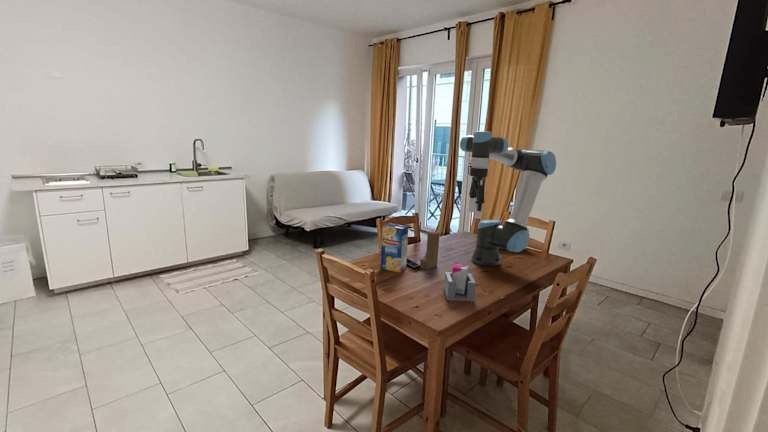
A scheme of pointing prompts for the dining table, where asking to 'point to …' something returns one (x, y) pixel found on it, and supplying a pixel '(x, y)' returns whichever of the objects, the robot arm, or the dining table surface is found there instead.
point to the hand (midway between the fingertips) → (474, 215)
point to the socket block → (451, 287)
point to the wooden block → (431, 251)
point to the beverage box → (394, 247)
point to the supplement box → (460, 278)
